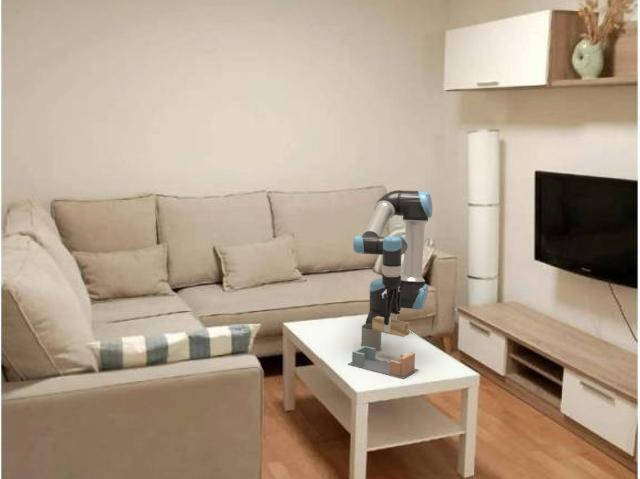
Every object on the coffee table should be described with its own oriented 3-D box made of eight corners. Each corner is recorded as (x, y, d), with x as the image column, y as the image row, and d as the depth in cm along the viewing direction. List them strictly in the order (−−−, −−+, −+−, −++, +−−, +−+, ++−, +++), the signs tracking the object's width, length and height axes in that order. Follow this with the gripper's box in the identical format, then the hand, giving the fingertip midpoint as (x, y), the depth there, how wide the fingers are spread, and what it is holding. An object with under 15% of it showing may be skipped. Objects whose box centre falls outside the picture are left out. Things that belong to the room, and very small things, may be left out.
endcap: (401, 366, 296) (402, 349, 295) (415, 369, 293) (415, 352, 291) (389, 373, 289) (390, 356, 287) (402, 376, 285) (403, 359, 284)
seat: (364, 356, 308) (364, 344, 307) (418, 370, 293) (419, 357, 292) (347, 364, 299) (347, 352, 298) (403, 379, 284) (403, 365, 283)
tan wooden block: (377, 327, 310) (377, 316, 309) (408, 334, 301) (409, 322, 300) (372, 330, 306) (372, 318, 305) (403, 337, 298) (404, 325, 297)
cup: (379, 352, 313) (379, 330, 311) (360, 351, 315) (360, 328, 313) (381, 346, 321) (382, 324, 319) (363, 345, 323) (363, 323, 321)
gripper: (394, 269, 308) (393, 323, 312) (372, 277, 294) (371, 333, 299) (410, 272, 303) (408, 327, 308) (388, 280, 290) (387, 337, 295)
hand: (390, 330), depth 303 cm, fingers closed on tan wooden block, 4 cm apart
